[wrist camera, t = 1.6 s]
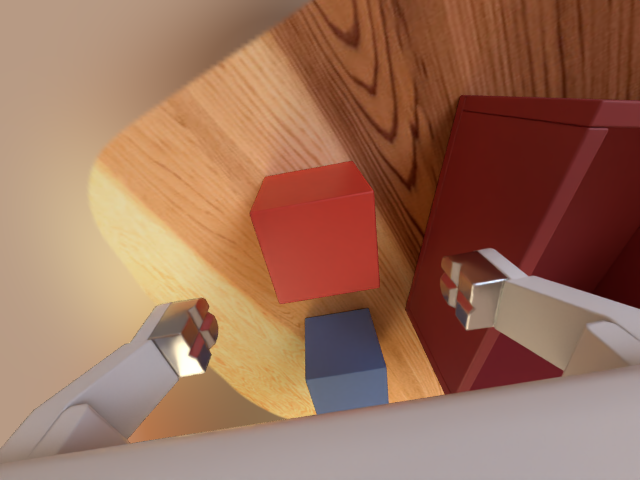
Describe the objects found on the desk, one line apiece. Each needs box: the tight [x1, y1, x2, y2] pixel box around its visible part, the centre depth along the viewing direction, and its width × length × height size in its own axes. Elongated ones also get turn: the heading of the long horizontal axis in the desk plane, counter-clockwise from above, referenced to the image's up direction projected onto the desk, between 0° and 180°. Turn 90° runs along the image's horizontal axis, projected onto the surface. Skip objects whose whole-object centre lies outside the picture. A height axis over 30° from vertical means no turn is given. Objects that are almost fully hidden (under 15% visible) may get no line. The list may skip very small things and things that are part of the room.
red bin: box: [405, 95, 640, 395], centre depth 13 cm, size 13×13×6 cm
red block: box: [250, 161, 380, 304], centre depth 12 cm, size 4×4×4 cm
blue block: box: [305, 308, 389, 414], centre depth 17 cm, size 4×4×4 cm
